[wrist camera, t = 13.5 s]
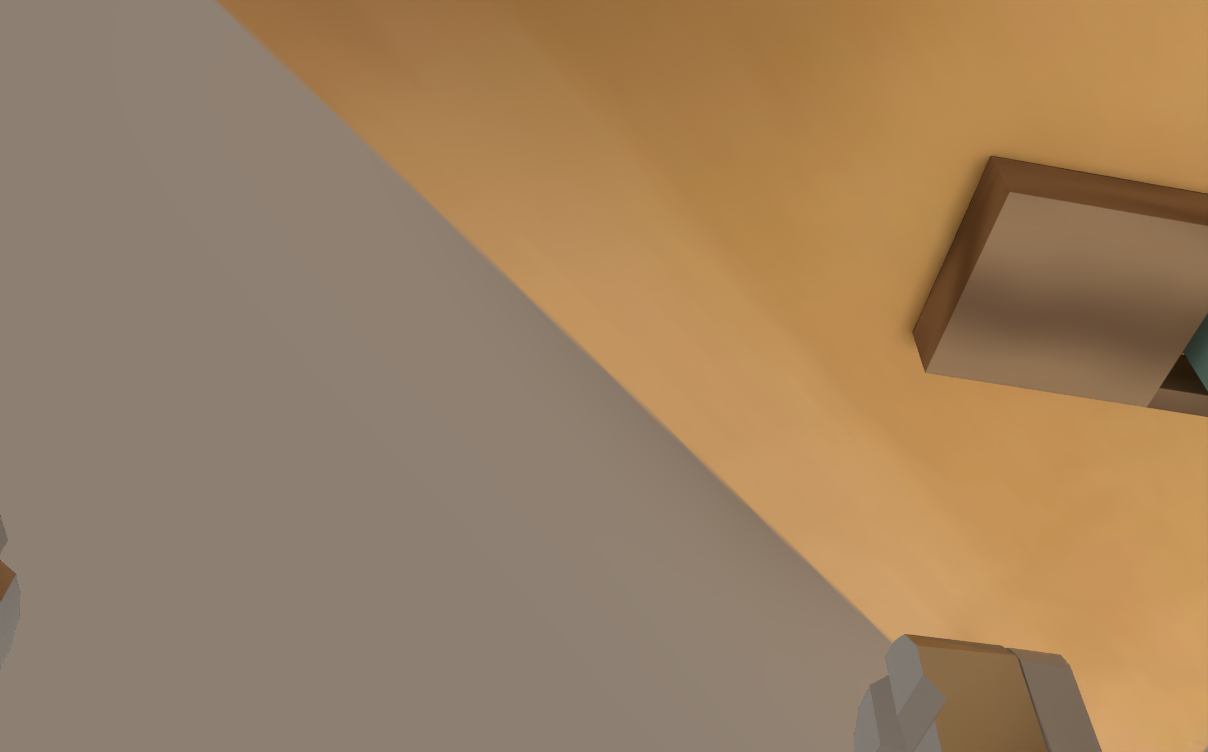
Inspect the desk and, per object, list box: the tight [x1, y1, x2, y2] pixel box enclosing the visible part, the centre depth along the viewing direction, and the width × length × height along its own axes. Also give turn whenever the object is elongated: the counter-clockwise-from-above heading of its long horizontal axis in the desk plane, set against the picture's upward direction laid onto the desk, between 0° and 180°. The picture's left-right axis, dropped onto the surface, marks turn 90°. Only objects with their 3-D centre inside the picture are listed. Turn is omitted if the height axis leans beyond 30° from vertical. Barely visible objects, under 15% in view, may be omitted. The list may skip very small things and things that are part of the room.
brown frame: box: [913, 156, 1208, 417], centre depth 42 cm, size 8×18×2 cm, turn 80°
